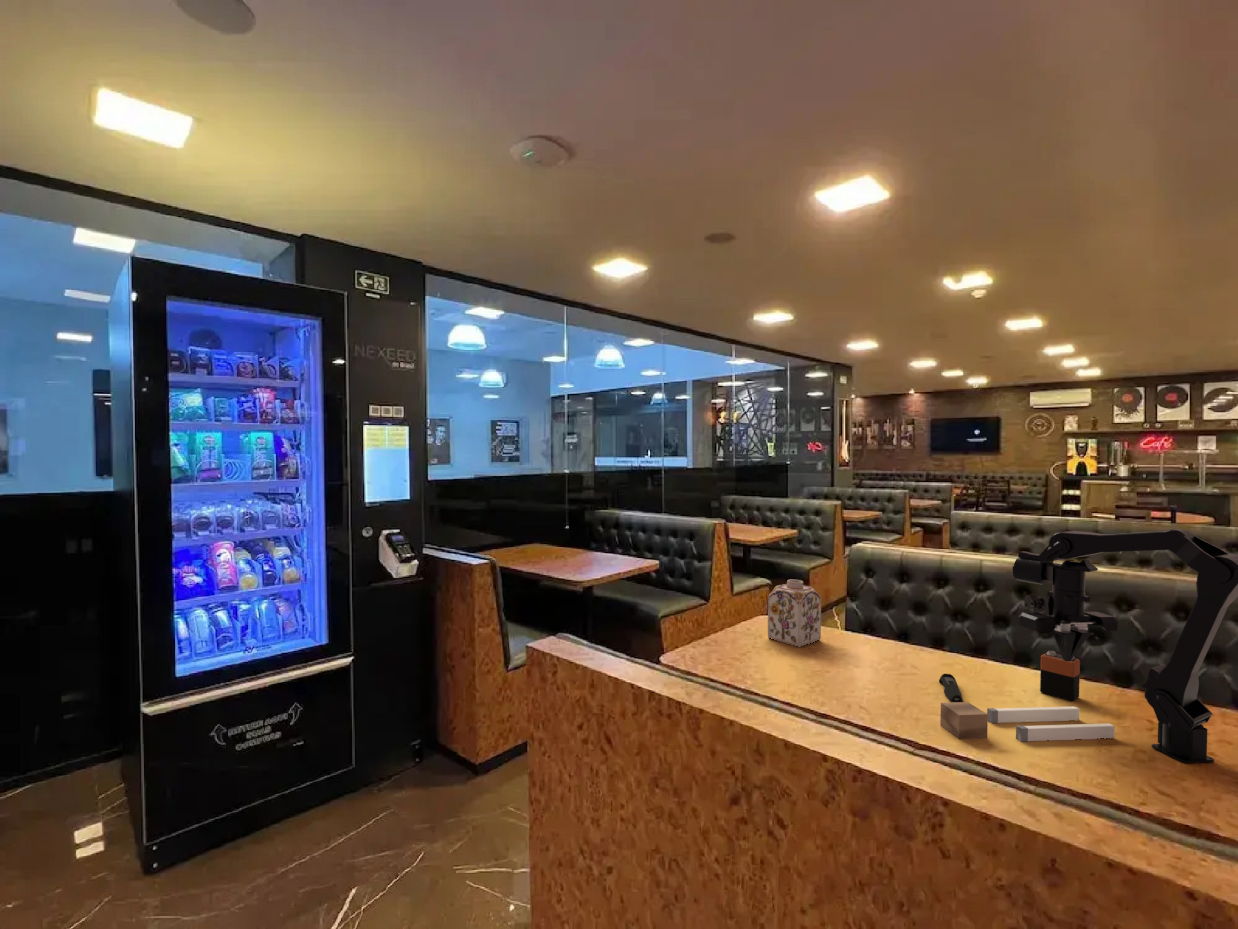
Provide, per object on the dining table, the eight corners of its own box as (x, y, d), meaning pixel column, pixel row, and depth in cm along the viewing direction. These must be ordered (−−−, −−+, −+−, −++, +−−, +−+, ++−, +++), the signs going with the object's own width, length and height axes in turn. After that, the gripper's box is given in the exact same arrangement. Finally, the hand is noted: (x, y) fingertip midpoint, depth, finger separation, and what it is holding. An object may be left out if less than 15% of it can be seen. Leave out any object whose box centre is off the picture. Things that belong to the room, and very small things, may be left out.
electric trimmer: (947, 707, 139) (947, 693, 139) (938, 682, 154) (938, 670, 154) (966, 709, 138) (966, 695, 138) (955, 684, 152) (955, 672, 152)
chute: (1114, 738, 123) (1115, 725, 123) (1021, 741, 121) (1021, 728, 121) (1074, 717, 133) (1074, 705, 133) (986, 720, 131) (987, 708, 131)
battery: (1073, 702, 142) (1074, 659, 141) (1039, 693, 147) (1040, 651, 147) (1079, 697, 144) (1080, 655, 144) (1046, 688, 150) (1047, 647, 149)
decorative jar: (789, 632, 195) (789, 575, 195) (821, 640, 187) (823, 581, 186) (766, 639, 188) (767, 580, 187) (799, 648, 179) (800, 586, 179)
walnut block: (987, 739, 123) (987, 714, 123) (958, 740, 122) (959, 715, 122) (967, 726, 129) (968, 702, 129) (940, 726, 128) (940, 702, 128)
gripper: (1077, 581, 142) (1075, 648, 143) (1001, 581, 141) (1000, 649, 141) (1120, 592, 131) (1119, 665, 132) (1039, 592, 130) (1037, 666, 130)
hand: (1066, 660), depth 134 cm, fingers closed
